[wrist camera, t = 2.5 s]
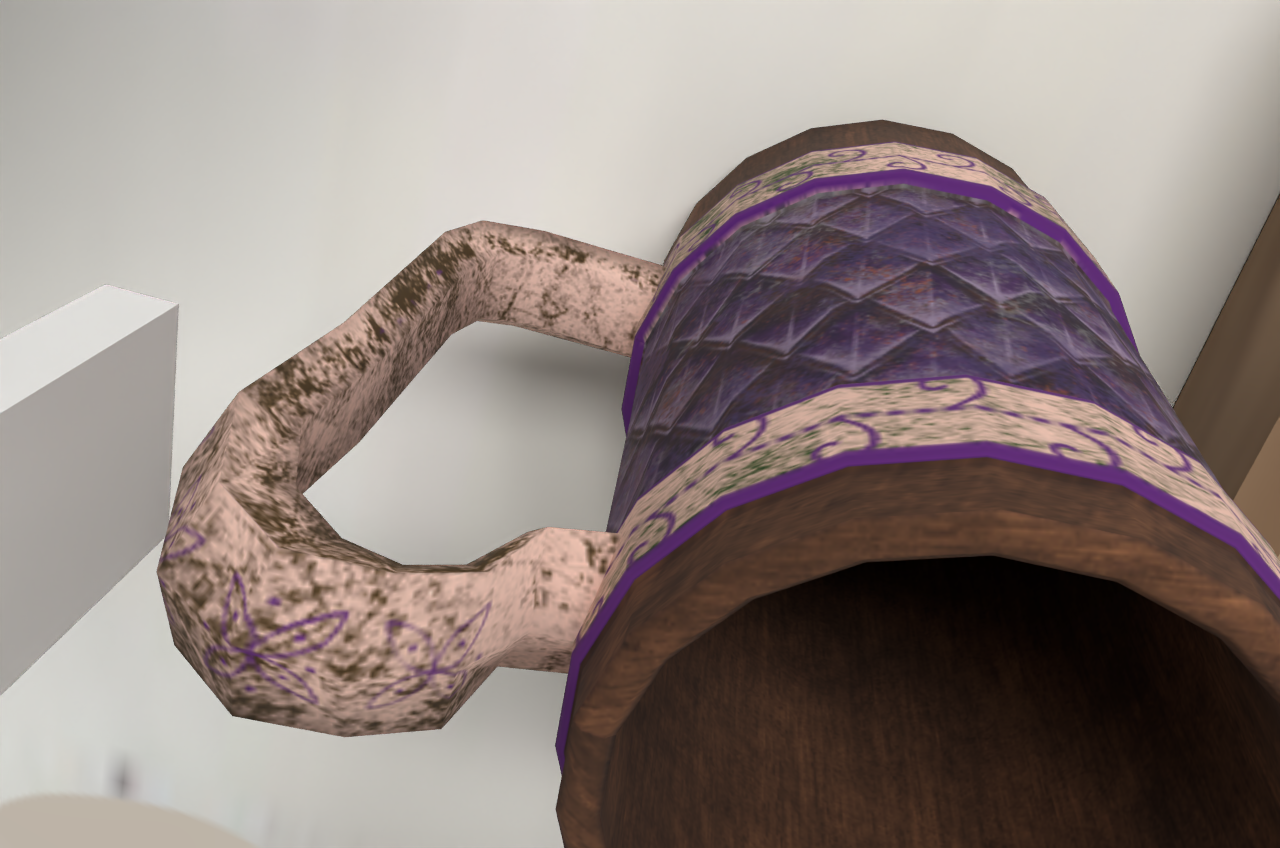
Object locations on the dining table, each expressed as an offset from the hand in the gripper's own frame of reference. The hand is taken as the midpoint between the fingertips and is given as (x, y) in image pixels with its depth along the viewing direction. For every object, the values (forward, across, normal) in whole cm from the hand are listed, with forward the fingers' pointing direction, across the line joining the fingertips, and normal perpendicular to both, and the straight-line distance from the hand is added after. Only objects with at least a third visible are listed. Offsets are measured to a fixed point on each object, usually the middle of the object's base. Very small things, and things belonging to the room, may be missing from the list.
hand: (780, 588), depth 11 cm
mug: (+9, 0, 0) cm, 9 cm away
